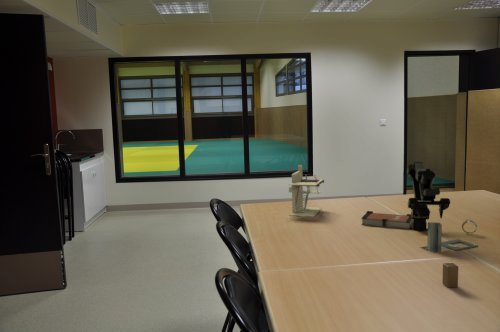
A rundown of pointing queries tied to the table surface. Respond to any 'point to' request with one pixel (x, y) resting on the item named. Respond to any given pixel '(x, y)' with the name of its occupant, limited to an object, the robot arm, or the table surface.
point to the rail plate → (449, 245)
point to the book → (387, 220)
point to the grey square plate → (434, 249)
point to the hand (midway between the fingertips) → (431, 217)
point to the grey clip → (434, 235)
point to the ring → (467, 222)
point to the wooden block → (450, 275)
